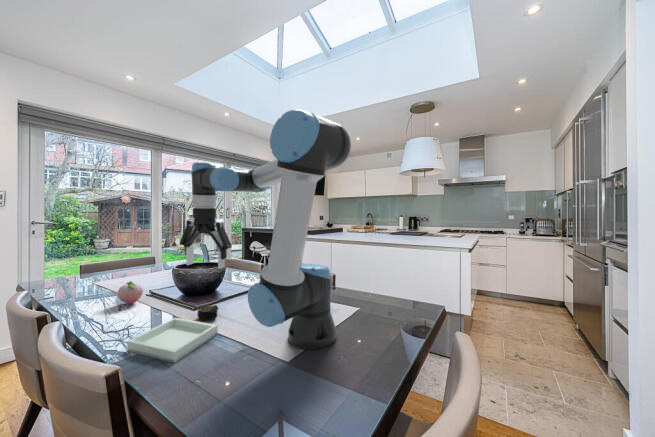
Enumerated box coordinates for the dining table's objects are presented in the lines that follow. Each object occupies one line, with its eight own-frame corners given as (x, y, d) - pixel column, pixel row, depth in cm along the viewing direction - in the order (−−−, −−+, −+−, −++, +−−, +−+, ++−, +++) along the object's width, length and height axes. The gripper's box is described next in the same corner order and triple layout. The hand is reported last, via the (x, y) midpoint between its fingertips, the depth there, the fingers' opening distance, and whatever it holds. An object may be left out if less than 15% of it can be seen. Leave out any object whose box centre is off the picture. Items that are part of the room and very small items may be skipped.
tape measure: (217, 320, 95) (216, 310, 95) (196, 323, 93) (195, 313, 93) (218, 313, 102) (218, 303, 102) (199, 315, 100) (198, 305, 100)
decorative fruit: (114, 305, 110) (113, 281, 110) (137, 298, 117) (136, 276, 116) (123, 310, 105) (121, 285, 104) (146, 303, 112) (145, 280, 111)
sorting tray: (217, 334, 86) (217, 325, 85) (174, 362, 70) (174, 352, 70) (175, 326, 91) (175, 317, 91) (127, 351, 76) (127, 341, 76)
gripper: (241, 208, 93) (241, 266, 95) (184, 205, 100) (185, 260, 102) (228, 209, 86) (228, 272, 88) (167, 206, 93) (169, 265, 95)
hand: (205, 266), depth 95 cm, fingers open, 13 cm apart
